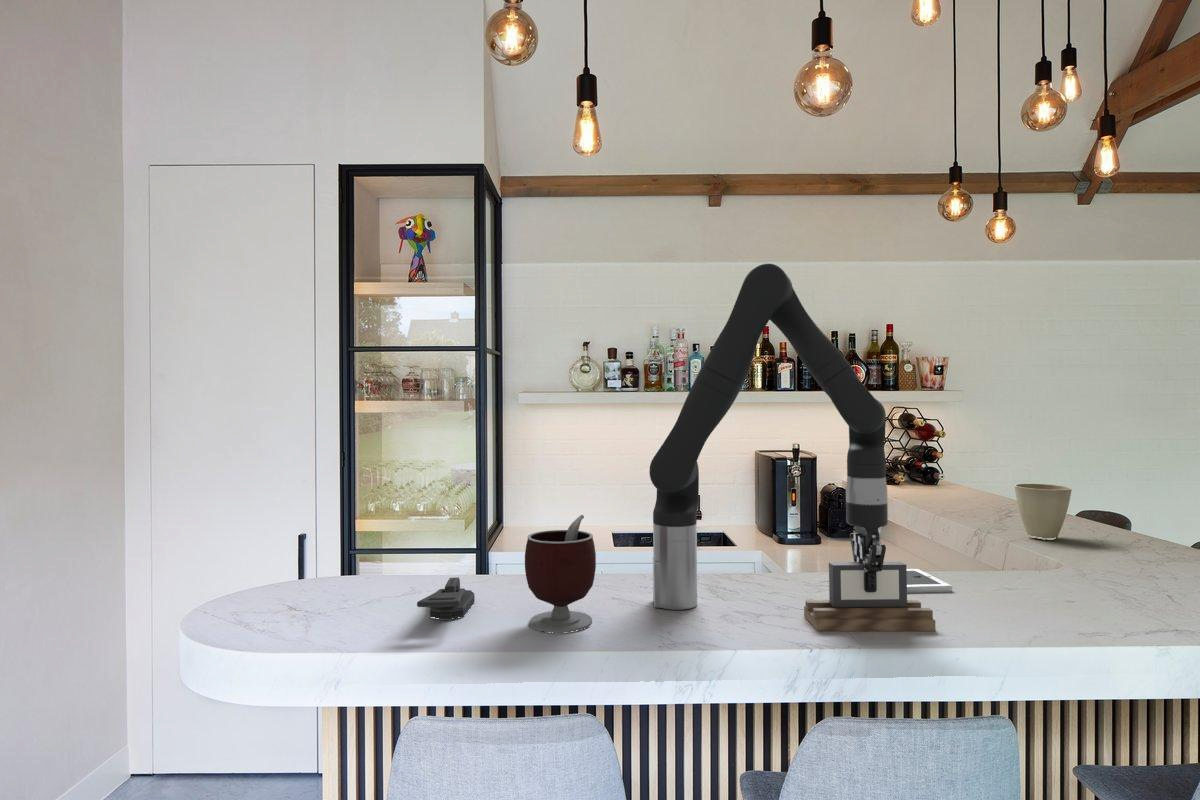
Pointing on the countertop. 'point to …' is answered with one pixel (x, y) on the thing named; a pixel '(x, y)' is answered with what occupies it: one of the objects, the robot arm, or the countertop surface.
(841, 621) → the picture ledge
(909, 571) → the picture frame
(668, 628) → the countertop surface
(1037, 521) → the plant pot
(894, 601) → the grey photo frame
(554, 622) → the mate gourd
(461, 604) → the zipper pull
